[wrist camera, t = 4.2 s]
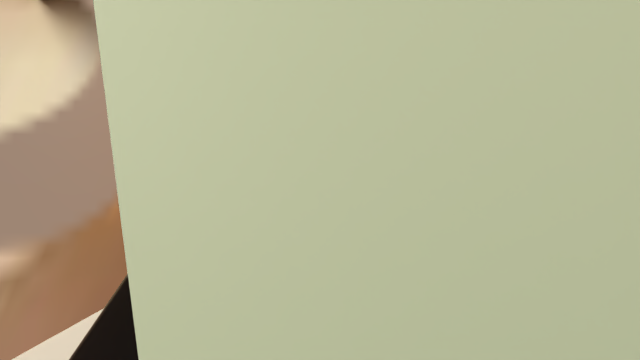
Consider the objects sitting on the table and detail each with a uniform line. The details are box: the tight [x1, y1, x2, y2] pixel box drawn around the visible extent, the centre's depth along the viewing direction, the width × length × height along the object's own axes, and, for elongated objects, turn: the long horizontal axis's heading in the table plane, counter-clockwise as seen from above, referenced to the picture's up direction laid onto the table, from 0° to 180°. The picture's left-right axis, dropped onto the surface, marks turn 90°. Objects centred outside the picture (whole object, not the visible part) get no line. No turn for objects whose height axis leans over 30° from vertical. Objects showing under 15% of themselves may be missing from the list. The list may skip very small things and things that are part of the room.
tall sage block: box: [93, 0, 640, 360], centre depth 9 cm, size 4×4×12 cm
